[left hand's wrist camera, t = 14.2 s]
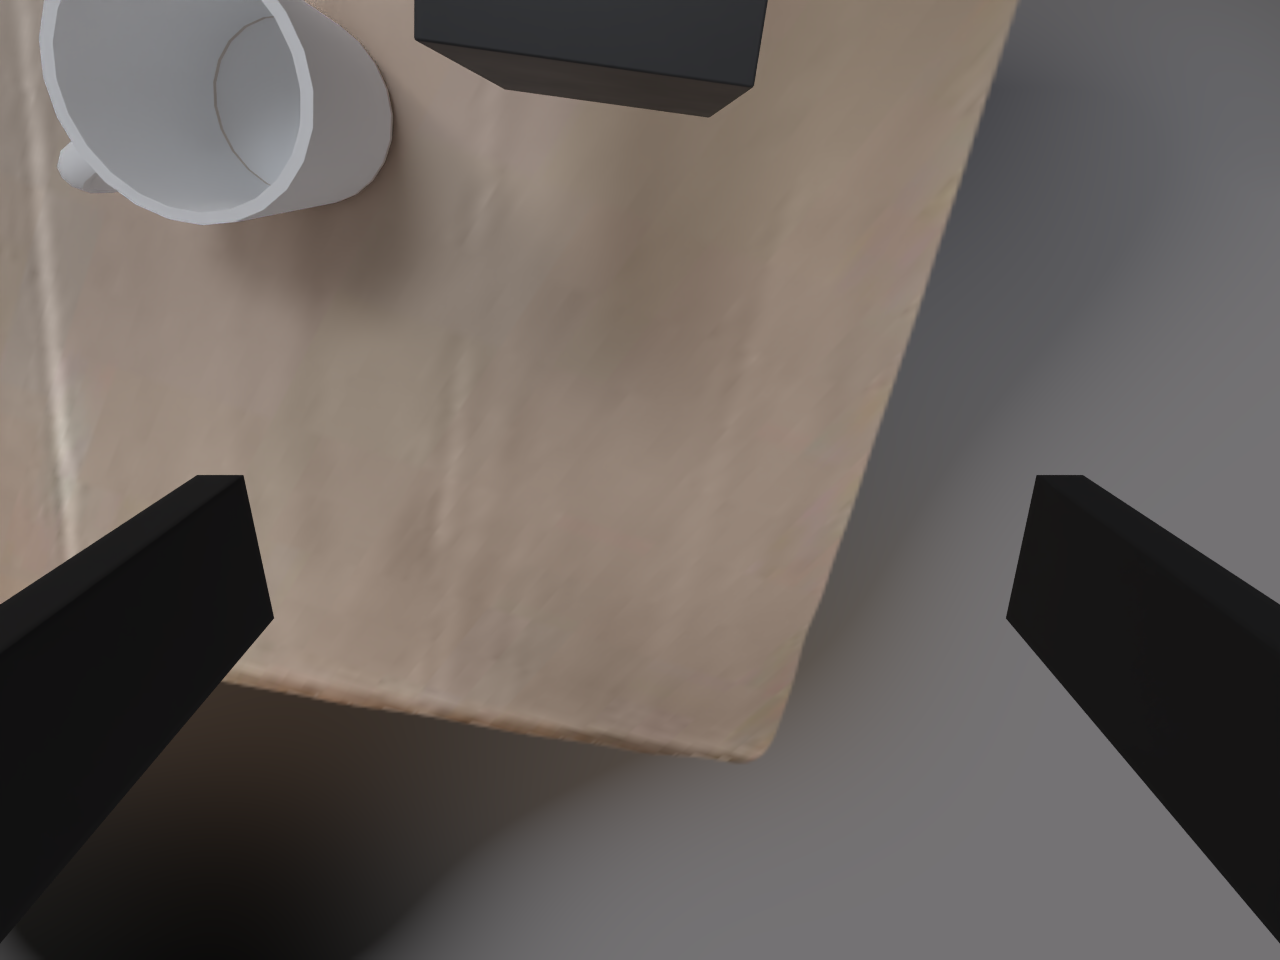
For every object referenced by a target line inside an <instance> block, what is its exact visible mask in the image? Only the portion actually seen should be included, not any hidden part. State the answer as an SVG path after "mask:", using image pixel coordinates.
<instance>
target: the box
mask: <svg viewBox="0 0 1280 960" xmlns="http://www.w3.org/2000/svg"><path fill="white" fill-rule="evenodd" d="M767 2H768V0H414V38H415V40H416V41H418V42H420V43H422V44H423V45H425V46H427V47H429V48H431V49H433V50H434V51H436V52H438V53H440V54H442V55H443V56H445V57H447V58H449V59H451V60H453V61H454V62H456V63H458V64H460V65H462V66H463V67H465V68H467V69H469V70H471V71H473V72H474V73H476V74H478V75H480V76H482V77H483V78H485V79H487V80H489V81H491V82H493V83H494V84H496V85H498V86H500V87H502V88H503V89H506V90H513V91H521V92H528V93H535V94H542V95H550V96H557V97H564V98H571V99H579V100H586V101H593V102H600V103H607V104H615V105H622V106H629V107H636V108H644V109H651V110H658V111H665V112H672V113H680V114H687V115H694V116H701V117H711V116H712V115H714V114H715V113H716V112H718V111H719V110H721V109H722V108H724V107H725V106H726V105H728V104H729V103H731V102H732V101H734V100H735V99H737V98H738V97H739V96H741V95H742V94H744V93H745V92H747V91H748V90H750V89H751V88H752V87H753V86H754V81H755V75H756V69H757V63H758V57H759V51H760V45H761V38H762V32H763V26H764V20H765V14H766V8H767Z"/></svg>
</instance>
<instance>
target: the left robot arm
mask: <svg viewBox="0 0 1280 960" xmlns="http://www.w3.org/2000/svg"><path fill="white" fill-rule="evenodd" d="M273 619H274V616H273V611H272V607H271V602H270V597H269V592H268V588H267V583H266V578H265V574H264V569H263V564H262V560H261V555H260V550H259V546H258V541H257V536H256V532H255V527H254V522H253V518H252V513H251V508H250V504H249V499H248V494H247V490H246V485H245V480H244V476H243V475H197V476H195V477H194V478H192V479H191V480H189V481H187V482H186V483H184V484H183V485H181V486H180V487H178V488H177V489H175V490H174V491H172V492H171V493H169V494H168V495H166V496H165V497H163V498H162V499H160V500H159V501H157V502H156V503H154V504H153V505H151V506H149V507H148V508H146V509H145V510H143V511H142V512H140V513H139V514H137V515H136V516H134V517H133V518H131V519H130V520H128V521H127V522H125V523H124V524H122V525H121V526H119V527H118V528H116V529H114V530H113V531H111V532H110V533H108V534H107V535H105V536H104V537H102V538H101V539H99V540H98V541H96V542H95V543H93V544H92V545H90V546H89V547H87V548H86V549H84V550H83V551H81V552H79V553H78V554H76V555H75V556H73V557H72V558H70V559H69V560H67V561H66V562H64V563H63V564H61V565H60V566H58V567H57V568H55V569H54V570H52V571H51V572H49V573H48V574H46V575H45V576H43V577H41V578H40V579H38V580H37V581H35V582H34V583H32V584H31V585H29V586H28V587H26V588H25V589H23V590H22V591H20V592H19V593H17V594H16V595H14V596H13V597H11V598H10V599H8V600H6V601H5V602H3V603H2V604H0V943H1V942H2V940H3V939H4V938H5V937H6V936H7V934H8V933H9V932H10V931H11V930H12V929H13V927H14V926H15V925H16V924H17V923H18V922H19V920H20V919H21V918H22V917H23V916H24V914H25V913H26V912H27V911H28V910H29V908H30V907H31V906H32V905H33V904H34V903H35V901H36V900H37V899H38V898H39V897H40V895H41V894H42V893H43V892H44V891H45V889H46V888H47V887H48V886H49V885H50V883H51V882H52V881H53V880H54V879H55V878H56V876H57V875H58V874H59V873H60V872H61V870H62V869H63V868H64V867H65V866H66V864H67V863H68V862H69V861H70V860H71V859H72V857H73V856H74V855H75V854H76V853H77V851H78V850H79V849H80V848H81V847H82V845H83V844H84V843H85V842H86V841H87V840H88V838H89V837H90V836H91V835H92V834H93V833H94V831H95V830H96V829H97V828H98V827H99V825H100V824H101V823H102V822H103V821H104V819H105V818H106V817H107V816H108V815H109V813H110V812H111V811H112V810H113V809H114V808H115V806H116V805H117V804H118V803H119V802H120V800H121V799H122V798H123V797H124V796H125V795H126V793H127V792H128V791H129V790H130V789H131V787H132V786H133V785H134V784H135V783H136V781H137V780H138V779H139V778H140V777H141V776H142V774H143V773H144V772H145V771H146V770H147V768H148V767H149V766H150V765H151V764H152V762H153V761H154V760H155V759H156V758H157V757H158V755H159V754H160V753H161V752H162V751H163V749H164V748H165V747H166V746H167V745H168V744H169V742H170V741H171V740H172V739H173V738H174V736H175V735H176V734H177V733H178V732H179V730H180V729H181V728H182V727H183V726H184V725H185V723H186V722H187V721H188V720H189V719H190V717H191V716H192V715H193V714H194V713H195V711H196V710H197V709H198V708H199V707H200V705H201V704H202V703H203V702H204V701H205V700H206V698H207V697H208V696H209V695H210V694H211V692H212V691H213V690H214V689H215V688H216V687H217V685H218V684H219V683H220V682H221V681H222V679H223V678H224V677H225V676H226V675H227V674H228V672H229V671H230V670H231V669H232V668H233V666H234V665H235V664H236V663H237V662H238V660H239V659H240V658H241V657H242V656H243V655H244V653H245V652H246V651H247V650H248V649H249V647H250V646H251V645H252V644H253V643H254V641H255V640H256V639H257V638H258V637H259V636H260V634H261V633H262V632H263V631H264V630H265V628H266V627H267V626H268V625H269V624H270V622H271V621H272V620H273ZM1006 619H1007V620H1008V621H1009V622H1010V624H1011V625H1012V626H1013V627H1014V628H1015V629H1016V631H1017V632H1018V633H1019V634H1020V635H1021V637H1022V638H1023V639H1024V640H1025V641H1026V643H1027V644H1028V645H1029V646H1030V647H1031V649H1032V650H1033V651H1034V652H1035V653H1036V655H1037V656H1038V657H1039V658H1040V659H1041V660H1042V662H1043V663H1044V664H1045V665H1046V666H1047V668H1048V669H1049V670H1050V671H1051V672H1052V674H1053V675H1054V676H1055V677H1056V678H1057V679H1058V681H1059V682H1060V683H1061V684H1062V685H1063V687H1064V688H1065V689H1066V690H1067V691H1068V692H1069V694H1070V695H1071V696H1072V697H1073V698H1074V700H1075V701H1076V702H1077V703H1078V704H1079V706H1080V707H1081V708H1082V709H1083V710H1084V711H1085V713H1086V714H1087V715H1088V716H1089V717H1090V719H1091V720H1092V721H1093V722H1094V723H1095V724H1096V726H1097V727H1098V728H1099V729H1100V730H1101V732H1102V733H1103V734H1104V735H1105V736H1106V738H1107V739H1108V740H1109V741H1110V742H1111V744H1112V745H1113V746H1114V747H1115V748H1116V749H1117V751H1118V752H1119V753H1120V754H1121V755H1122V756H1123V758H1124V759H1125V760H1126V761H1127V762H1128V764H1129V765H1130V766H1131V767H1132V768H1133V770H1134V771H1135V772H1136V773H1137V774H1138V776H1139V777H1140V778H1141V779H1142V780H1143V781H1144V783H1145V784H1146V785H1147V786H1148V787H1149V789H1150V790H1151V791H1152V792H1153V793H1154V795H1155V796H1156V797H1157V798H1158V799H1159V800H1160V802H1161V803H1162V804H1163V805H1164V806H1165V808H1166V809H1167V810H1168V811H1169V812H1170V814H1171V815H1172V816H1173V817H1174V818H1175V819H1176V821H1177V822H1178V823H1179V824H1180V825H1181V827H1182V828H1183V829H1184V830H1185V831H1186V833H1187V834H1188V835H1189V836H1190V837H1191V838H1192V840H1193V841H1194V842H1195V843H1196V844H1197V846H1198V847H1199V848H1200V849H1201V850H1202V851H1203V853H1204V854H1205V855H1206V856H1207V857H1208V859H1209V860H1210V861H1211V862H1212V863H1213V865H1214V866H1215V867H1216V868H1217V869H1218V870H1219V872H1220V873H1221V874H1222V875H1223V876H1224V878H1225V879H1226V880H1227V881H1228V882H1229V884H1230V885H1231V886H1232V887H1233V888H1234V889H1235V891H1236V892H1237V893H1238V894H1239V895H1240V897H1241V898H1242V899H1243V900H1244V901H1245V902H1246V904H1247V905H1248V906H1249V907H1250V908H1251V910H1252V911H1253V912H1254V913H1255V914H1256V916H1257V917H1258V918H1259V919H1260V920H1261V922H1262V923H1263V924H1264V925H1265V926H1266V927H1267V929H1268V930H1269V931H1270V932H1271V933H1272V935H1273V936H1274V937H1275V938H1276V939H1277V940H1278V942H1279V943H1280V604H1278V603H1277V602H1275V601H1274V600H1272V599H1270V598H1269V597H1267V596H1266V595H1264V594H1263V593H1261V592H1260V591H1258V590H1257V589H1255V588H1254V587H1252V586H1251V585H1249V584H1248V583H1246V582H1245V581H1243V580H1242V579H1240V578H1239V577H1237V576H1235V575H1234V574H1232V573H1231V572H1229V571H1228V570H1226V569H1225V568H1223V567H1222V566H1220V565H1219V564H1217V563H1216V562H1214V561H1213V560H1211V559H1210V558H1208V557H1206V556H1205V555H1204V554H1202V553H1200V552H1199V551H1197V550H1196V549H1194V548H1193V547H1191V546H1190V545H1188V544H1187V543H1185V542H1184V541H1182V540H1181V539H1179V538H1178V537H1176V536H1175V535H1173V534H1172V533H1170V532H1169V531H1167V530H1166V529H1164V528H1162V527H1161V526H1159V525H1158V524H1156V523H1155V522H1153V521H1152V520H1150V519H1149V518H1147V517H1146V516H1144V515H1143V514H1141V513H1140V512H1138V511H1137V510H1135V509H1134V508H1132V507H1131V506H1129V505H1127V504H1126V503H1124V502H1123V501H1121V500H1120V499H1118V498H1117V497H1115V496H1114V495H1112V494H1111V493H1109V492H1108V491H1106V490H1105V489H1103V488H1102V487H1100V486H1099V485H1097V484H1096V483H1094V482H1092V481H1091V480H1089V479H1088V478H1086V477H1085V476H1083V475H1037V476H1036V481H1035V485H1034V490H1033V494H1032V499H1031V504H1030V508H1029V513H1028V518H1027V522H1026V527H1025V532H1024V537H1023V541H1022V546H1021V550H1020V555H1019V560H1018V564H1017V569H1016V574H1015V578H1014V583H1013V588H1012V593H1011V597H1010V602H1009V607H1008V611H1007V616H1006Z"/></svg>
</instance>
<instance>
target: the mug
mask: <svg viewBox="0 0 1280 960" xmlns="http://www.w3.org/2000/svg"><path fill="white" fill-rule="evenodd" d="M39 44H40V53H41V62H42V71H43V78H44V81H45V84H46V87H47V90H48V93H49V96H50V99H51V102H52V104H53V107H54V110H55V113H56V116H57V118H58V120H59V121H60V123H61V125H62V126H63V128H64V130H65V131H66V133H67V135H68V136H69V138H70V140H71V142H70V143H69V144H68V145H67V146H65V147H64V148H63V149H62V150H61V152H60V156H59V161H58V165H57V168H58V170H59V172H60V175H61V177H62V178H63V179H64V180H65V181H66V182H67V183H69V184H70V185H71V186H72V187H75V188H77V189H80V190H83V191H86V192H89V193H113V192H119V193H121V194H122V195H123V196H125V197H126V198H128V199H129V200H130V201H132V202H133V203H134V204H136V205H138V206H140V207H142V208H145V209H147V210H149V211H151V212H154V213H156V214H158V215H161V216H163V217H165V218H167V219H170V220H176V221H182V222H187V223H193V224H199V225H211V224H221V223H231V222H240V221H245V220H250V219H255V218H261V217H266V216H271V215H276V214H281V213H286V212H291V211H296V210H301V209H306V208H311V207H316V206H322V205H327V204H332V203H338V202H340V201H342V200H345V199H347V198H350V197H352V196H354V195H357V194H358V193H359V192H360V191H362V190H363V189H364V188H365V187H366V186H368V185H369V184H370V183H371V182H372V181H373V180H374V179H375V177H376V176H377V174H378V172H379V171H380V169H381V168H382V166H383V165H384V163H385V161H386V158H387V154H388V151H389V148H390V145H391V141H392V128H393V112H392V107H391V102H390V97H389V92H388V88H387V86H386V84H385V82H384V79H383V77H382V75H381V72H380V70H379V68H378V66H377V64H376V63H375V61H374V60H373V59H372V57H371V56H370V54H369V53H368V52H367V50H366V49H365V48H364V46H363V45H362V44H361V43H360V42H359V41H358V40H357V39H356V38H355V37H353V36H352V35H351V34H350V33H349V32H348V31H346V30H345V29H344V28H343V27H342V26H340V25H339V24H337V23H336V22H334V21H333V20H331V19H330V18H328V17H327V16H325V15H324V14H323V13H321V12H320V11H318V10H317V9H315V8H314V7H312V6H311V5H309V4H308V3H306V2H305V1H304V0H44V5H43V12H42V19H41V26H40V33H39Z"/></svg>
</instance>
